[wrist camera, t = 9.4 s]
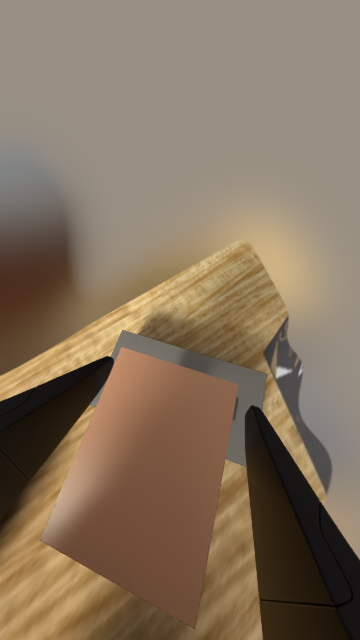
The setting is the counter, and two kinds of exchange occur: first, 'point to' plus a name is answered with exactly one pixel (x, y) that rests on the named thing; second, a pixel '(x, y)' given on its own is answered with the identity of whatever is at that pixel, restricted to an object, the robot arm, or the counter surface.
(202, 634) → the counter surface
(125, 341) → the socket block
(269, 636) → the robot arm
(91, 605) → the counter surface
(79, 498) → the plug
